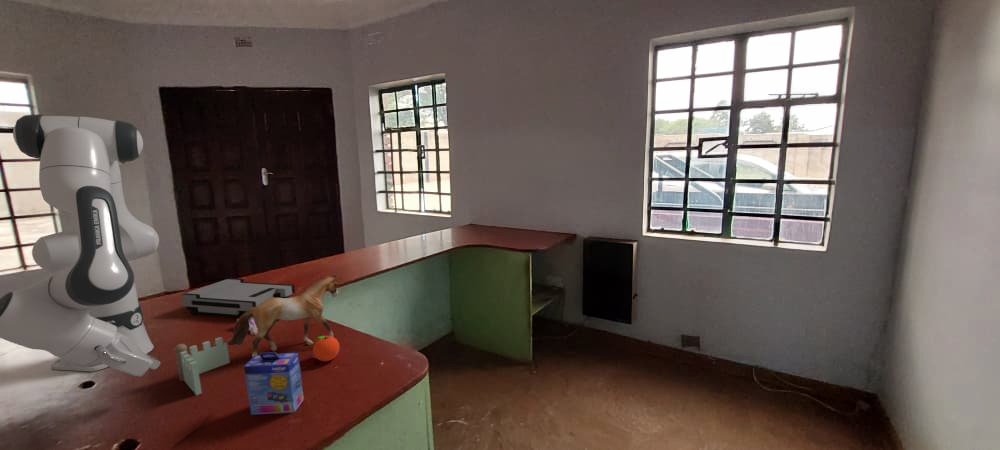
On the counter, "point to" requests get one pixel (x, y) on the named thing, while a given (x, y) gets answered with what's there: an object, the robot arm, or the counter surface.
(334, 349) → the clementine
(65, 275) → the robot arm
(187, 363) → the folding fence panel
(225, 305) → the game console
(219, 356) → the fence post and fixed panel
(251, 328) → the rabbit figure
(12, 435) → the counter surface
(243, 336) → the horse figurine
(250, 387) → the ink cartridge box
